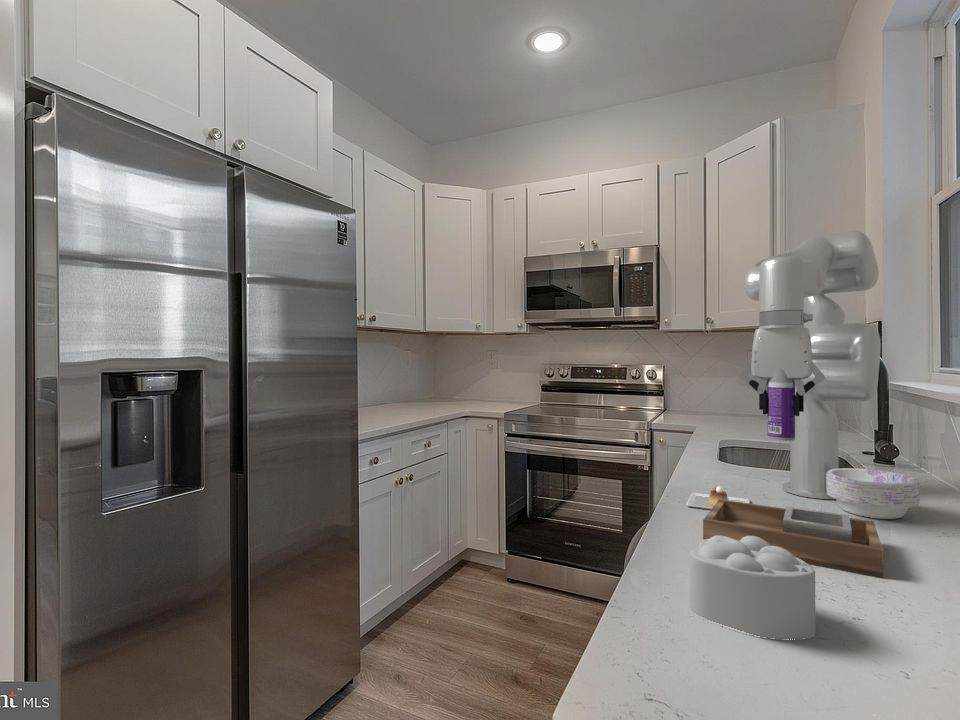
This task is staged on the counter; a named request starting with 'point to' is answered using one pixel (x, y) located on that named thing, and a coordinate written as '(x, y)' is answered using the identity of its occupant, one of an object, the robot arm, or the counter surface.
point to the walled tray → (798, 537)
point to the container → (781, 407)
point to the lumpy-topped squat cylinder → (753, 587)
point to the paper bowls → (873, 492)
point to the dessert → (712, 498)
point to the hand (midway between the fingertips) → (781, 413)
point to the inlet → (817, 524)
